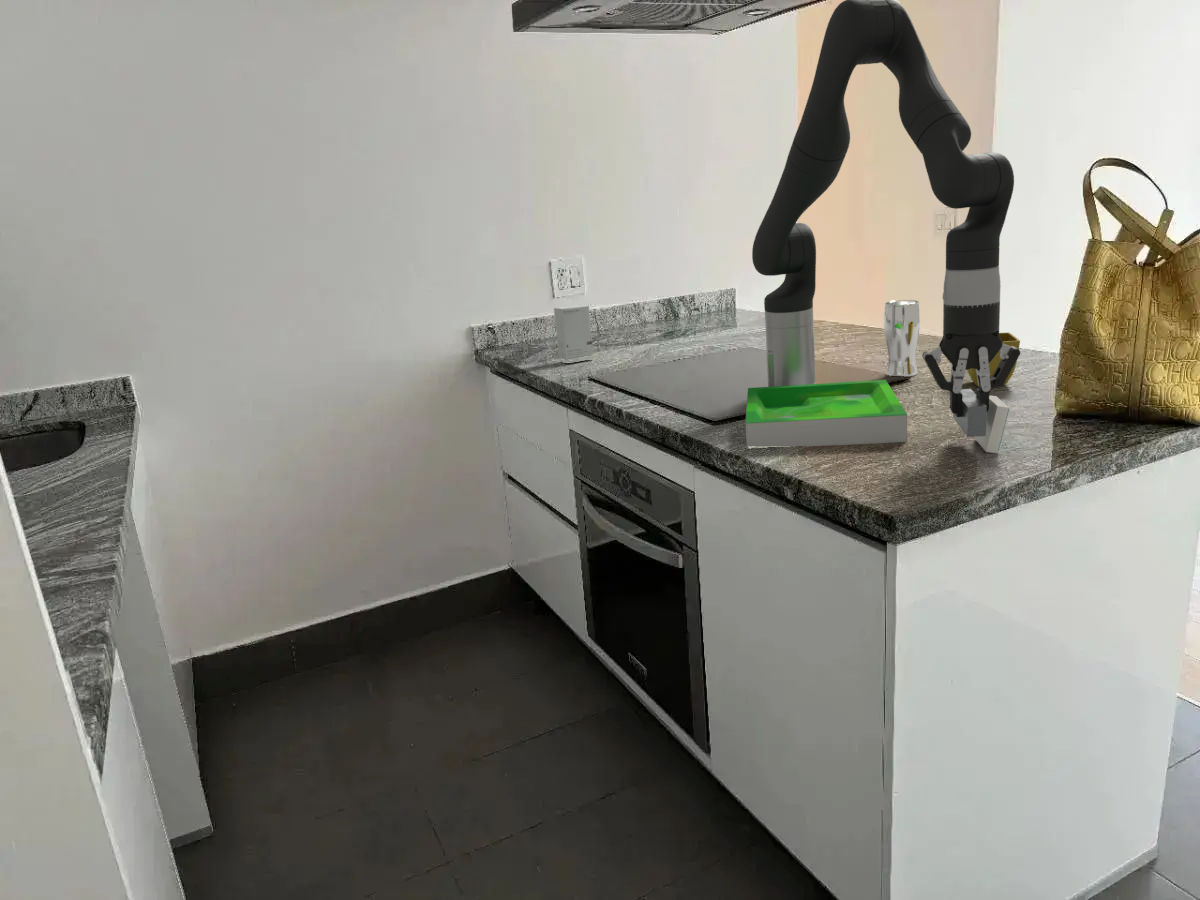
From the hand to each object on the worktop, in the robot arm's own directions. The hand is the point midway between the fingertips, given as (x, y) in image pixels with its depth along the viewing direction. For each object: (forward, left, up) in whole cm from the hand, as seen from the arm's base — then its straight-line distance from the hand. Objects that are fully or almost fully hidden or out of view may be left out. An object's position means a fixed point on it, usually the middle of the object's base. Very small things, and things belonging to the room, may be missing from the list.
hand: (969, 414), depth 130 cm
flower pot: (+12, +40, -5) cm, 42 cm away
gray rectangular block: (0, 0, -2) cm, 2 cm away
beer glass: (-2, +53, -5) cm, 53 cm away
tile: (+2, 0, -5) cm, 6 cm away
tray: (-21, +17, -6) cm, 27 cm away
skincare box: (-80, +94, -5) cm, 123 cm away
